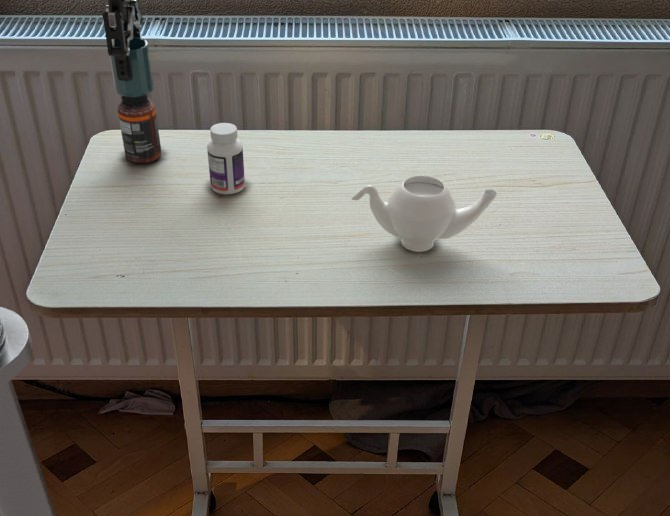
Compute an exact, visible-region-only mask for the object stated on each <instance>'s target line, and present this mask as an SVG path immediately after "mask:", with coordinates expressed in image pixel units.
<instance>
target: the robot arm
mask: <svg viewBox="0 0 670 516" xmlns="http://www.w3.org/2000/svg"><path fill="white" fill-rule="evenodd" d="M101 17H102V20H103V26H104V33H105V41H106V47H107V55H108V56H109V57H110V56H114V59H115V65H116V72H117V78H118V79H119V80H120V81H131V80H132V78H133V72H132V65H131V58H130V40H132V39H133V37H139V38H142V37H141V32H142V24H143V21H144V17H143V13H142V6H141V0H107V4H106V5H105V11H103V12H102V15H101ZM117 40H120V43H121V47H116V41H117ZM4 340H5V331H4V328H3V325H2V323H1V320H0V347H1V346H2V344H3V342H4Z"/></svg>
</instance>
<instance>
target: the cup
mask: <svg viewBox="0 0 670 516" xmlns="http://www.w3.org/2000/svg"><path fill="white" fill-rule="evenodd" d="M116 47H121V43H120V40H117V41H116ZM130 58H131V65H132V72H133V78H132V80H131V81H120V80H119V79H118V78H117V72H116V65H115V59H114V56H109V60H110V66H111V72H112V77H113V78H112V79H113V84H114V89H115V90H114V91H115V92H116V94H118V95H119V96H125V97H140V96H144V95H147V96H148V95H149V94H151V93H152V92H153V91H154V79H153V72H152V71H153V70H152V63H151V56H150V49H149V42H148V41H147V39H145V38H142V37H141V38H139V37H133V39H132V40H130Z"/></svg>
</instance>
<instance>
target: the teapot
mask: <svg viewBox="0 0 670 516" xmlns="http://www.w3.org/2000/svg"><path fill="white" fill-rule="evenodd" d="M365 195H368V199H369V207H370V210H371V213H372V214H373V216H374V218H375V220H376V221H377V223H378V224H379V226H380V227H381V228H382V229H383V230H384V231H385V232H387V233H388V234H390V235H392V236H394V237H395V238H399V239H401V245H402V246H403V247H404V248H405V249H407V250H409V251H412V252H417V253H421V252H426V251H429V250H432V248H433V247H434V245H435V241H436V240H447V239H451V238H454V237H455V236H457V235H459V234H461V233H462V232H464V231H465V230H467V229H468V228H469V227H470V226H471V225H472V224H473V223H474V222H476V220H478V219H479V217H481V215H482V214H483V213H484V212H485V211H486V209H487V208H488V207H489V206H490V205H491V204H492V203H493V201H494V200H495V198H496V197H497V191H496V190H494V189H490V188H489V189H485V190H484V191H483V193H482V194H481V196H480V197H479V199H478V200H476V201H475V202H473V203H472V204H470V205H467V206H465V207H461V208H457V205H456V201H455V199H454V197H453V195H452V192H451V191H450V189H449V187H448V186H447V185H446V184H445V183H444V181H442V180H441V179H438V178H436V177H433V176H429V175H414V176H409V177H407V178H405V179H404V180H402V181H401V182H400V183H399V184H398V185H397V186H396V187H395V188H394V190H393V191H392V192H391V193H390V195H389V197H388V200H387V201H385V200H383V198H382V197H381V195H380V193H379V191H378V190H377V188H376V186H373V185H372V184H368V185H366V186H364V187H363V188H361V189H360V190H359V191H358V192H357V193H355V194H354V195H353V196H352V197H351V198H350V199H351V200H352V201H359V200H361V199H362V198H363V196H365Z"/></svg>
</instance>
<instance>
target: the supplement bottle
mask: <svg viewBox="0 0 670 516" xmlns="http://www.w3.org/2000/svg"><path fill="white" fill-rule="evenodd" d="M120 96H121V95H120ZM117 115H118V121H119V126H120V127H119V128H120V132H121V138H122V145H123V149H124V155H125V157H126V159H127V160H128V161H129V162H132V163H134V164H149V163H152V162H154V161H157V160H158V159H159V158H160V157H161V155H162V145H161V139H160V138H161V137H160V132H159V124H158V118H157V117H158V116H157V111H156V105H155V103H154V102H153V101H152V100H151V99H150V98H148V94H147V95H144V96H140V97H125V96H121V101H120V102H119V103H118V105H117Z"/></svg>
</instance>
